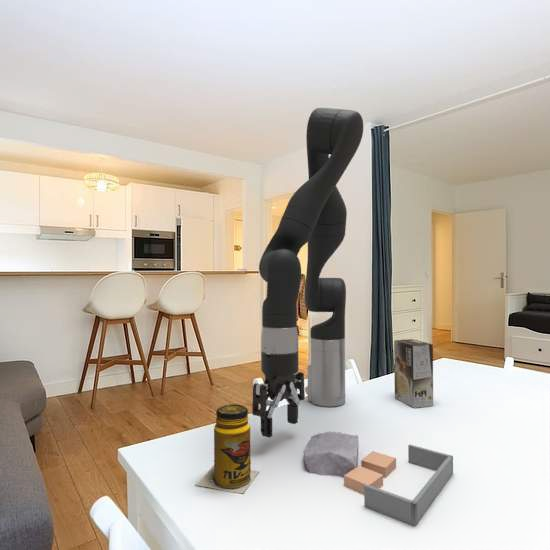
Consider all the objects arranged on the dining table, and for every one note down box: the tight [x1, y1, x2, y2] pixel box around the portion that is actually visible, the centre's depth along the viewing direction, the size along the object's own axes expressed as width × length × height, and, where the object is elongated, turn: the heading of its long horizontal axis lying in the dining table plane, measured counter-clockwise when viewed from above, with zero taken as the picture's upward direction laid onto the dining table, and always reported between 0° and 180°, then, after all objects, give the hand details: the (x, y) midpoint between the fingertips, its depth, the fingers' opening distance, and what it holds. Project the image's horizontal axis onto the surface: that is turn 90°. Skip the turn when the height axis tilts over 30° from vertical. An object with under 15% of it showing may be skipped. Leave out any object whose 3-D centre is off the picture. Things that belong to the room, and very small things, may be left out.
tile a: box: [343, 465, 384, 495], centre depth 64 cm, size 4×4×2 cm
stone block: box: [303, 431, 359, 478], centre depth 73 cm, size 12×5×10 cm
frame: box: [363, 444, 454, 527], centre depth 63 cm, size 8×18×3 cm, turn 141°
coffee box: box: [393, 338, 434, 409], centre depth 106 cm, size 9×6×16 cm
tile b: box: [360, 451, 397, 478], centre depth 70 cm, size 4×4×2 cm
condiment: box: [195, 403, 260, 494], centre depth 67 cm, size 7×8×12 cm
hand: (280, 429), depth 80 cm, fingers open, 8 cm apart
